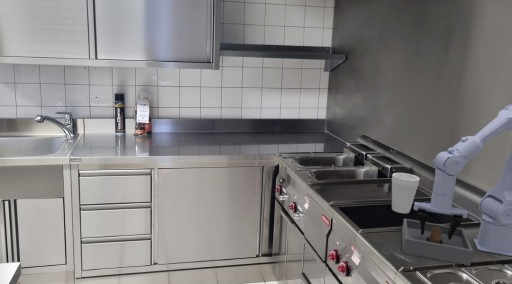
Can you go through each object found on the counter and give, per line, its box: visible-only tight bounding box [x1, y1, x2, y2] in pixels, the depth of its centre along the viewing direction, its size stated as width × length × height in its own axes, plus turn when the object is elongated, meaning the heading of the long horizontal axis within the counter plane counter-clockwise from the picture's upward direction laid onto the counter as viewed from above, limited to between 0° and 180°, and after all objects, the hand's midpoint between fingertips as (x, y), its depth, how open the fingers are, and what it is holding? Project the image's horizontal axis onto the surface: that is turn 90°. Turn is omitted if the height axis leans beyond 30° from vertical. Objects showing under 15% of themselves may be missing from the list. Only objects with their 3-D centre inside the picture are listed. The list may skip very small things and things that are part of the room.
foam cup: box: [391, 172, 420, 214], centre depth 165 cm, size 10×9×13 cm
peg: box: [429, 227, 442, 244], centre depth 136 cm, size 3×3×6 cm
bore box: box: [401, 218, 474, 267], centre depth 136 cm, size 18×17×4 cm
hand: (435, 235), depth 135 cm, fingers open, 7 cm apart
